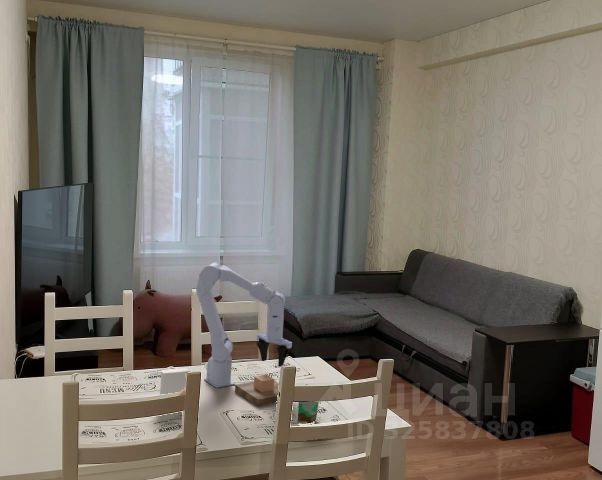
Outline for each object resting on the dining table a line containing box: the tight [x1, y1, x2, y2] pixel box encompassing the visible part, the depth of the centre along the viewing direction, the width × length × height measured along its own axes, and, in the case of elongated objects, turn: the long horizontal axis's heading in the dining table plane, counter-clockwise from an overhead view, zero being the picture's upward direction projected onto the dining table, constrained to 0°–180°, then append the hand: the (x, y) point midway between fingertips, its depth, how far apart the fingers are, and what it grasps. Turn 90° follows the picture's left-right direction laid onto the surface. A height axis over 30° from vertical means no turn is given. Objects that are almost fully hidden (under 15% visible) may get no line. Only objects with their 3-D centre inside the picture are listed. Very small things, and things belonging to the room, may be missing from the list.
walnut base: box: [234, 380, 280, 407], centre depth 213 cm, size 15×15×2 cm
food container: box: [296, 384, 320, 423], centre depth 194 cm, size 12×6×10 cm, turn 168°
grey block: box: [159, 367, 191, 396], centre depth 198 cm, size 9×9×12 cm
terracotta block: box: [253, 374, 275, 392], centre depth 213 cm, size 5×5×4 cm
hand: (272, 362), depth 220 cm, fingers open, 7 cm apart
